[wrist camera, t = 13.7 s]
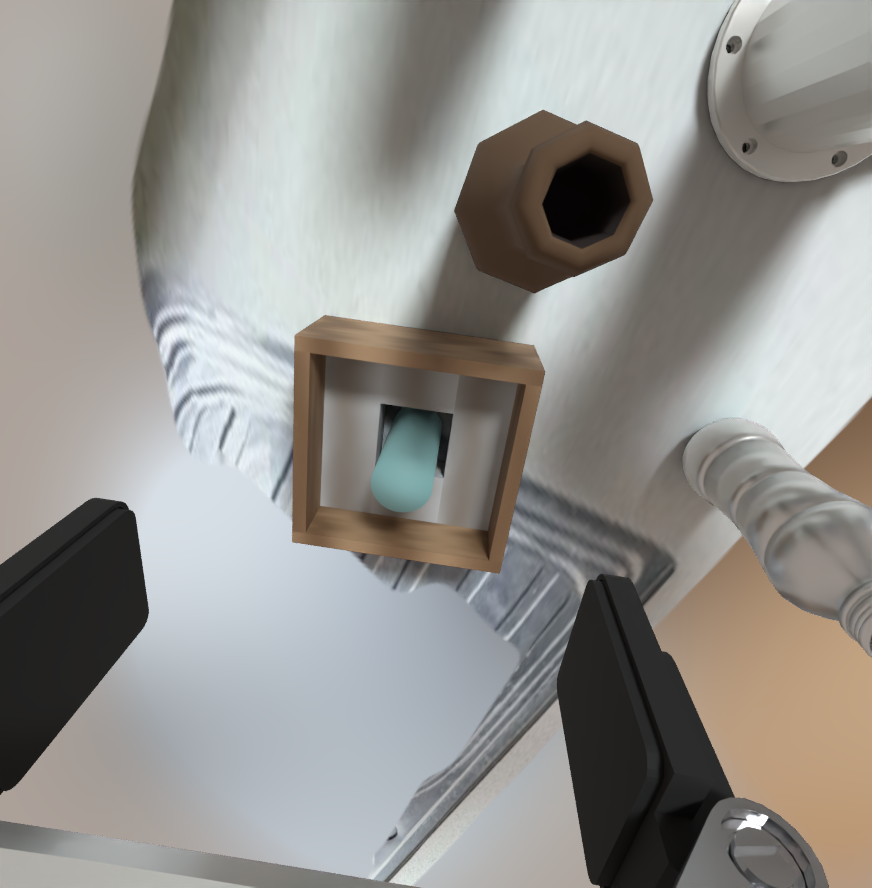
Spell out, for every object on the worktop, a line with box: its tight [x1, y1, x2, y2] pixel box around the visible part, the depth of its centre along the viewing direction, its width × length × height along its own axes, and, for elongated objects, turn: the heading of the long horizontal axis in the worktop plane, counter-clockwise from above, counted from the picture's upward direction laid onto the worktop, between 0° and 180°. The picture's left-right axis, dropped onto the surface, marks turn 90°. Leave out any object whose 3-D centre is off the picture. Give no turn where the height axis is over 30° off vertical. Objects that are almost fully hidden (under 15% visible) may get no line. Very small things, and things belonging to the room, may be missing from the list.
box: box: [292, 315, 545, 573], centre depth 39 cm, size 16×16×7 cm
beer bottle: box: [454, 110, 653, 293], centre depth 24 cm, size 8×8×24 cm
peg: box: [371, 407, 442, 512], centre depth 37 cm, size 4×4×10 cm
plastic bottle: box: [682, 418, 872, 657], centre depth 32 cm, size 6×7×20 cm
